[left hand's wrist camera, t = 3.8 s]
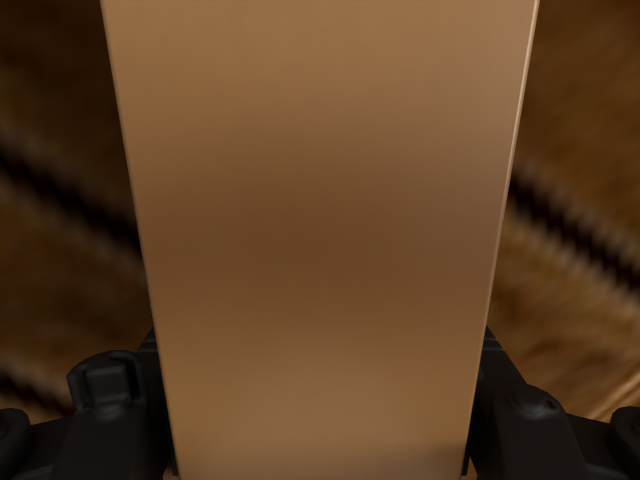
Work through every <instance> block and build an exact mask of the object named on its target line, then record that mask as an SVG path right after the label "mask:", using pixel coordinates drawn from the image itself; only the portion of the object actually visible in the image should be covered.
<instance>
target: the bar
mask: <svg viewBox="0 0 640 480" xmlns="http://www.w3.org/2000/svg"><path fill="white" fill-rule="evenodd" d="M539 1H540V0H100V4H101V10H102V16H103V22H104V28H105V34H106V40H107V46H108V52H109V58H110V65H111V71H112V77H113V83H114V89H115V95H116V101H117V107H118V113H119V119H120V125H121V131H122V137H123V143H124V149H125V155H126V161H127V167H128V173H129V179H130V185H131V191H132V197H133V203H134V209H135V215H136V221H137V227H138V233H139V240H140V246H141V252H142V258H143V264H144V270H145V276H146V282H147V288H148V294H149V300H150V306H151V312H152V318H153V324H154V330H155V336H156V342H157V348H158V354H159V360H160V366H161V372H162V378H163V384H164V390H165V396H166V402H167V408H168V415H169V421H170V427H171V433H172V439H173V445H174V451H175V457H176V463H177V469H178V475H179V480H460V479H461V473H462V467H463V461H464V454H465V448H466V442H467V436H468V430H469V424H470V418H471V412H472V406H473V400H474V394H475V388H476V382H477V376H478V370H479V364H480V358H481V352H482V346H483V340H484V334H485V327H486V321H487V315H488V309H489V303H490V297H491V291H492V285H493V279H494V273H495V267H496V261H497V255H498V249H499V243H500V237H501V231H502V225H503V219H504V213H505V207H506V200H507V194H508V188H509V182H510V176H511V170H512V164H513V158H514V152H515V146H516V140H517V134H518V128H519V122H520V116H521V110H522V104H523V98H524V92H525V86H526V80H527V73H528V67H529V61H530V55H531V49H532V43H533V37H534V31H535V25H536V19H537V13H538V7H539Z"/></svg>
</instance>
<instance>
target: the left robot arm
mask: <svg viewBox="0 0 640 480" xmlns="http://www.w3.org/2000/svg"><path fill="white" fill-rule="evenodd" d="M66 378H67V382H68V386H69V389H70V393H71V397H72V401H73V404H74V408H75V413H74V415H71V416H68V417H64V418H61V419H56V420H52V421H47V422H43V423H39V424H34V425H31V424H30V421H29V418H28V415H27V414H26V413H25V412H23V411H22V410H20V409H14V408H6V409H0V480H163V474H164V471H165V469H166V466H167V464H168V461H169V459H170V460H171V465H172V471H173V476H179V475H178V469H177V463H176V457H175V451H174V445H173V439H172V433H171V427H170V421H169V415H168V408H167V402H166V396H165V390H164V384H163V378H162V372H161V366H160V360H159V354H158V348H157V342H156V336H155V330H154V327H153V328H152V329H151V331H150V332H149V334H148V335H147V337H146V338H145V339H144V342H142V344H141V345H140V347H139V348H138V350H137V352H136V353H134V352H130V351H126V350H112V351H108V352H103V353H99V354H96V355H94V356H92V357H89V358H87V359H85V360H83V361H82V362H80V363H79V364H77V365H76V366H75V367H73V368H72V370H71V371H70V372H69V373H68V375H67V376H66ZM470 457H471V460H472V462H473V465H474V467H475V470H476V472H477V475H478V476H477V480H640V407H633V406H628V407H621V408H618V409H617V410H616V411H615V412H614V413H613V414H612V417H611V420H610V423H605V422H600V421H596V420H592V419H587V418H583V417H578V416H575V415H571V414H568V413H565V410H564V409H563V407H562V406H561V404H560V403H559V402H558V401H557V400H556V399H555V398H554V397H552V396H551V395H550V394H549V393H547V392H545V391H543V390H541V389H539V388H537V387H535V386H532V385H528V384H527V383H526V382H525V380H524V379H523V377H522V376H521V374H520V373H519V371H518V370H517V369H516V367H515V366H514V364H513V363H512V361H511V360H510V358H509V357H508V356H507V354H506V353H505V351H503V348H502V347H501V345H500V344H499V342H498V341H496V338H495V337H494V335H493V334H492V332H491V331H490V329H489V328H488V327H487V326H486V327H485V334H484V340H483V346H482V352H481V358H480V364H479V370H478V376H477V382H476V388H475V394H474V400H473V406H472V412H471V418H470V424H469V430H468V436H467V442H466V448H465V454H464V461H463V467H462V473H461V476H466V475H467V470H468V464H469V458H470Z"/></svg>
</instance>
